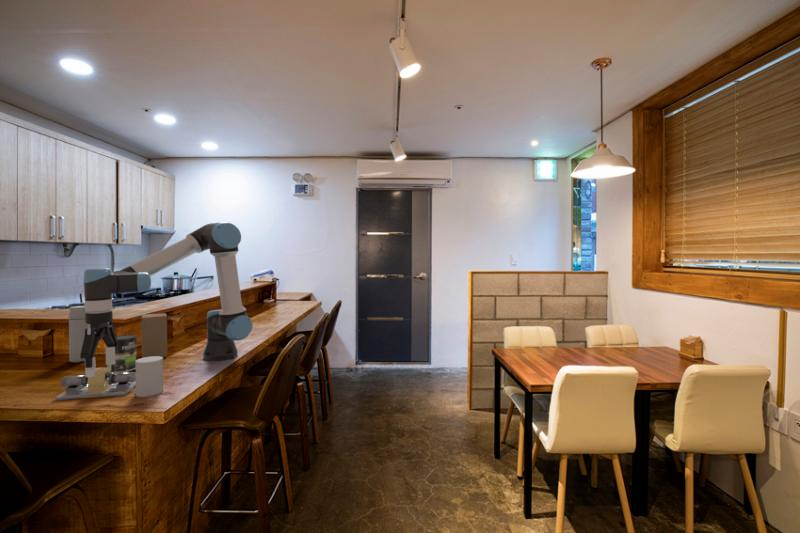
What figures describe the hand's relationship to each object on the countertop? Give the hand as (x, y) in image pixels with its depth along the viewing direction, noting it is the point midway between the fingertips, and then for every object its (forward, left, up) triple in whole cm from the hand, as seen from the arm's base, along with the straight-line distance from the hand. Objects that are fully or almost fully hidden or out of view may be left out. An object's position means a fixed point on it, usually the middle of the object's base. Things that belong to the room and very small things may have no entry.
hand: (101, 370), depth 130 cm
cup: (-17, +5, -8) cm, 19 cm away
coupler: (0, 0, -7) cm, 7 cm away
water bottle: (+29, -47, -8) cm, 56 cm away
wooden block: (-1, -48, -8) cm, 48 cm away
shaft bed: (0, 0, -8) cm, 8 cm away
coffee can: (+4, -27, -8) cm, 28 cm away
